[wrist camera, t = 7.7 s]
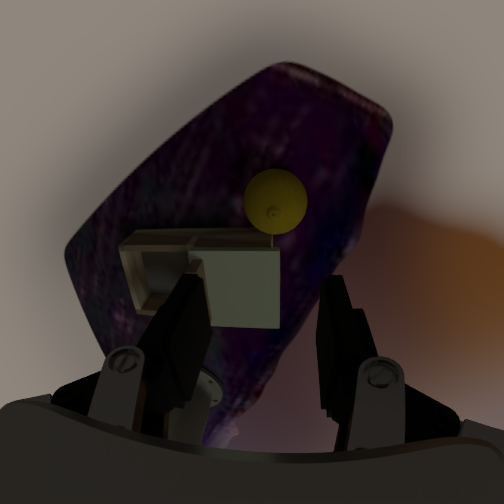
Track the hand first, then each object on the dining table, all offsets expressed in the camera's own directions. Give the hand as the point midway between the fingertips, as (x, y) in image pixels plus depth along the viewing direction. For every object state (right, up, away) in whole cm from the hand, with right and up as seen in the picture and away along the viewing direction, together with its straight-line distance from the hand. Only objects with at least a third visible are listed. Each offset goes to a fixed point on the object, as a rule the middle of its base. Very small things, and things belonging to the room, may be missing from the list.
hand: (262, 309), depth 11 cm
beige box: (-6, +1, +22) cm, 23 cm away
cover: (-2, -1, +17) cm, 17 cm away
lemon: (+2, +8, +18) cm, 20 cm away
